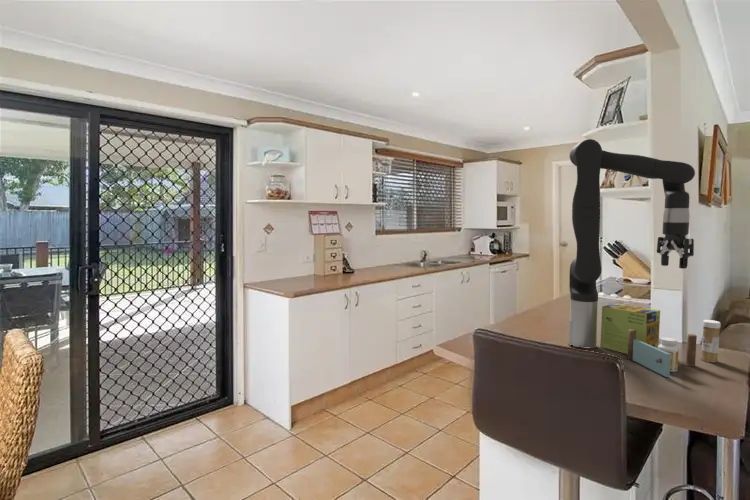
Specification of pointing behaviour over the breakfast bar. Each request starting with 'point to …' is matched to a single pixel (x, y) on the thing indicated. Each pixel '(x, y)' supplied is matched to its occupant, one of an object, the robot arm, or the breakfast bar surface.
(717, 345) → the sprinkles bottle
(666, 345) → the supplement bottle
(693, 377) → the breakfast bar surface
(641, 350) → the door
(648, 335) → the protein box
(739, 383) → the breakfast bar surface
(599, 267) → the robot arm
